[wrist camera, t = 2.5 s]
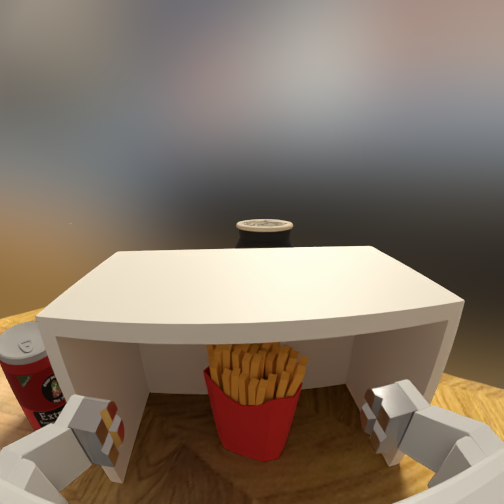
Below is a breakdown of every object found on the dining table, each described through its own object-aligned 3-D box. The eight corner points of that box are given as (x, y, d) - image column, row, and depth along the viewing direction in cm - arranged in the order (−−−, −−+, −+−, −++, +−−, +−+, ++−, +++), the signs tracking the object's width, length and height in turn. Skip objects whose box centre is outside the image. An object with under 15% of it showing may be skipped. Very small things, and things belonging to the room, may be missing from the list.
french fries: (206, 441, 24) (192, 344, 21) (225, 418, 28) (218, 323, 25) (287, 470, 21) (300, 373, 18) (301, 441, 24) (315, 344, 21)
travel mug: (284, 359, 39) (289, 229, 35) (229, 350, 41) (225, 226, 37) (293, 332, 46) (298, 220, 42) (246, 326, 49) (245, 218, 44)
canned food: (54, 453, 19) (8, 368, 16) (22, 416, 22) (-15, 337, 19) (101, 418, 26) (72, 335, 23) (64, 390, 29) (38, 314, 26)
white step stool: (111, 481, 18) (35, 316, 13) (142, 385, 32) (117, 251, 28) (399, 463, 19) (464, 300, 15) (351, 376, 34) (370, 246, 30)
